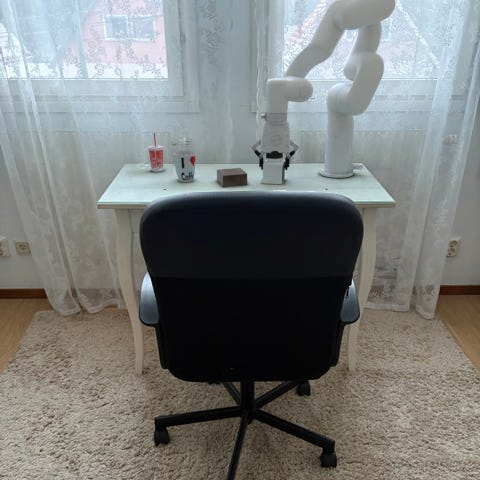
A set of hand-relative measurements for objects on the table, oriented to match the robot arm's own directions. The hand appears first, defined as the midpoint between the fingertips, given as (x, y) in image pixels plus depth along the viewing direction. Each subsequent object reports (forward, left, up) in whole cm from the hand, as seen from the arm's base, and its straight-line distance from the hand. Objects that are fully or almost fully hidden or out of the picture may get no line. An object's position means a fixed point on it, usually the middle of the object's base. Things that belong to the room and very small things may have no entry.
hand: (274, 169), depth 186 cm
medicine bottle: (0, 0, -5) cm, 5 cm away
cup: (+32, -3, -5) cm, 33 cm away
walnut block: (+15, +1, -5) cm, 16 cm away
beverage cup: (+45, -18, -4) cm, 48 cm away
